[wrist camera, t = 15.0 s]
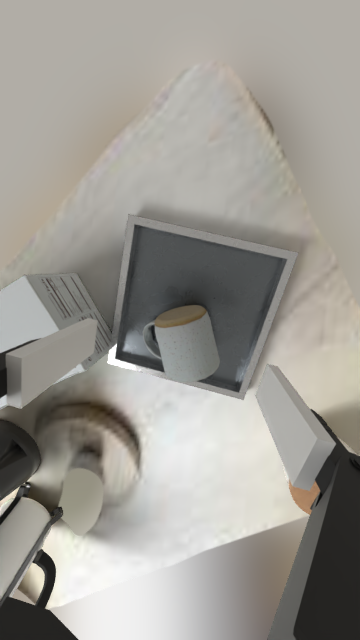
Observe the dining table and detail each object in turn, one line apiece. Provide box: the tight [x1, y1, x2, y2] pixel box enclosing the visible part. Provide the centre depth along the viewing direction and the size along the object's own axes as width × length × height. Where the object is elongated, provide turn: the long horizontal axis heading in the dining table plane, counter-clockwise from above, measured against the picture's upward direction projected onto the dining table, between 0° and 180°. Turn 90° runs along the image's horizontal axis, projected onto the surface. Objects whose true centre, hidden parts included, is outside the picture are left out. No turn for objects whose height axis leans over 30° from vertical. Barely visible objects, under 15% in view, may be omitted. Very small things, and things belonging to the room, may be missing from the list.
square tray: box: [108, 214, 298, 400], centre depth 29 cm, size 22×22×2 cm
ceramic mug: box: [143, 305, 220, 383], centre depth 27 cm, size 11×8×8 cm
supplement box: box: [0, 273, 112, 409], centre depth 29 cm, size 17×13×9 cm
